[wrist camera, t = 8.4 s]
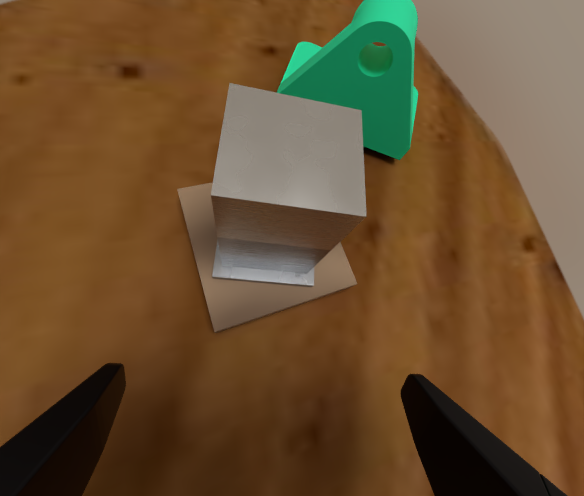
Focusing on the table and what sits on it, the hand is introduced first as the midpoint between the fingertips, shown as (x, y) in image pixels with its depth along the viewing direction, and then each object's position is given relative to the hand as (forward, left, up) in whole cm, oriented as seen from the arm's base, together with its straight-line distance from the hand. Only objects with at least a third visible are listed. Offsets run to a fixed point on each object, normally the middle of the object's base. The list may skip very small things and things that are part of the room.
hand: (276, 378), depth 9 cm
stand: (+7, -3, -10) cm, 13 cm away
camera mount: (+18, -14, -10) cm, 25 cm away
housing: (+7, -3, -8) cm, 12 cm away
